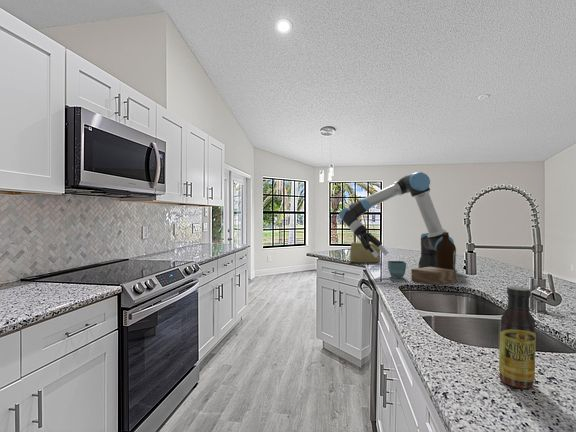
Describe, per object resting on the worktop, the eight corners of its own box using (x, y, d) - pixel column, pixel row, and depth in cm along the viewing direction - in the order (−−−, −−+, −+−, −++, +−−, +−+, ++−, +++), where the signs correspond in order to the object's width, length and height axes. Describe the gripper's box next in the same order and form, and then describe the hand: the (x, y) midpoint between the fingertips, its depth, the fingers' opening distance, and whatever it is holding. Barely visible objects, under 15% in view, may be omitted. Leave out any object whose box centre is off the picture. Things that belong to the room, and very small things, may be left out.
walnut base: (430, 277, 196) (430, 266, 196) (456, 281, 182) (456, 270, 182) (411, 280, 187) (411, 269, 187) (438, 285, 174) (437, 273, 174)
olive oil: (436, 276, 198) (435, 232, 198) (436, 273, 207) (435, 231, 207) (456, 277, 193) (456, 232, 193) (456, 274, 203) (455, 232, 203)
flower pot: (403, 276, 200) (402, 260, 200) (406, 279, 191) (406, 262, 191) (387, 276, 201) (387, 260, 201) (390, 279, 192) (390, 262, 192)
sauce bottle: (502, 387, 70) (501, 289, 70) (496, 374, 76) (494, 284, 76) (541, 393, 68) (539, 291, 68) (531, 379, 74) (530, 285, 74)
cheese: (350, 262, 261) (350, 242, 261) (350, 261, 271) (350, 242, 271) (380, 263, 257) (380, 243, 257) (379, 261, 266) (379, 242, 266)
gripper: (363, 232, 221) (386, 257, 212) (344, 234, 202) (368, 261, 192) (371, 224, 218) (394, 249, 209) (352, 225, 199) (377, 252, 189)
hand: (382, 255), depth 201 cm, fingers open, 13 cm apart
